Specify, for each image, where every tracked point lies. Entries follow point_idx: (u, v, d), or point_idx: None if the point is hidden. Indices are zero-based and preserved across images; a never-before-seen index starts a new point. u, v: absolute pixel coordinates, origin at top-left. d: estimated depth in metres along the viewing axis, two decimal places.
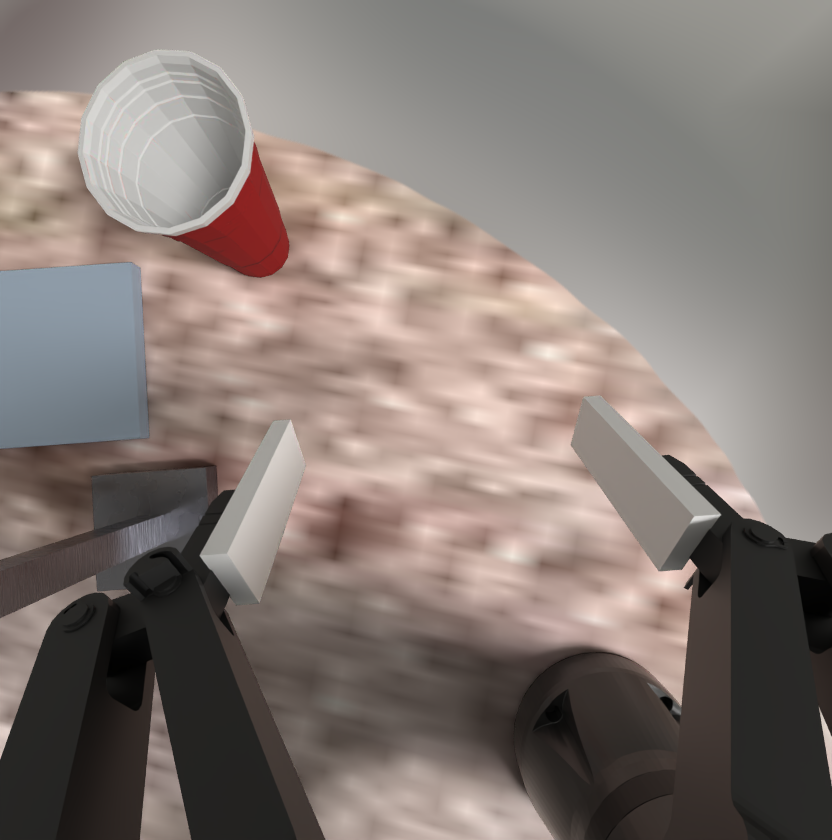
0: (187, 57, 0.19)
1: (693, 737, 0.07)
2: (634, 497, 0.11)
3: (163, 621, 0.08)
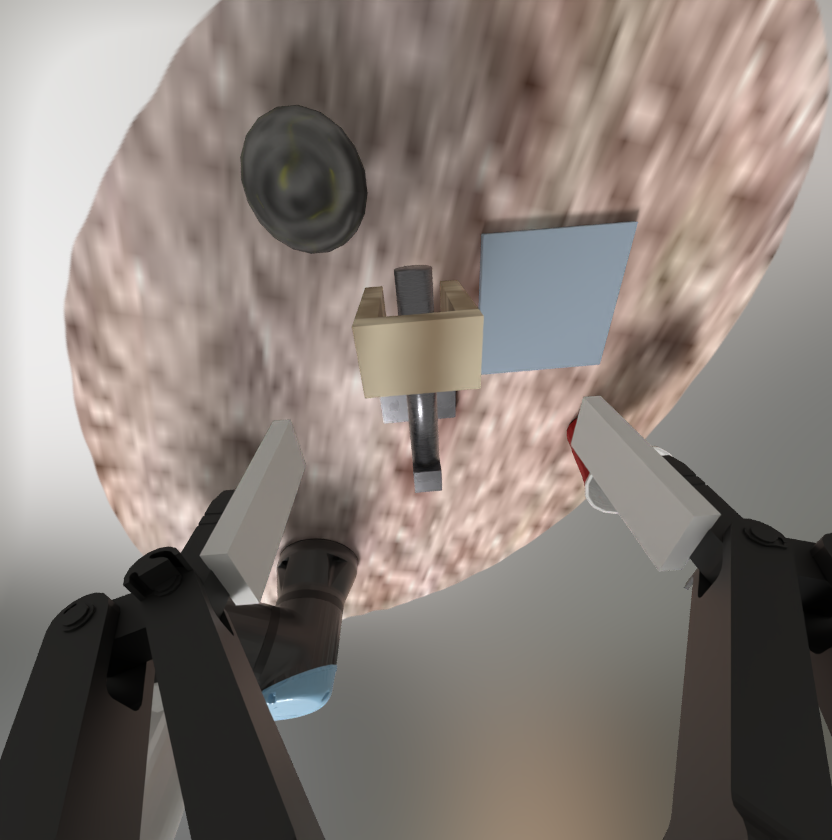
0: None
1: (693, 737, 0.07)
2: (634, 497, 0.11)
3: (163, 621, 0.08)
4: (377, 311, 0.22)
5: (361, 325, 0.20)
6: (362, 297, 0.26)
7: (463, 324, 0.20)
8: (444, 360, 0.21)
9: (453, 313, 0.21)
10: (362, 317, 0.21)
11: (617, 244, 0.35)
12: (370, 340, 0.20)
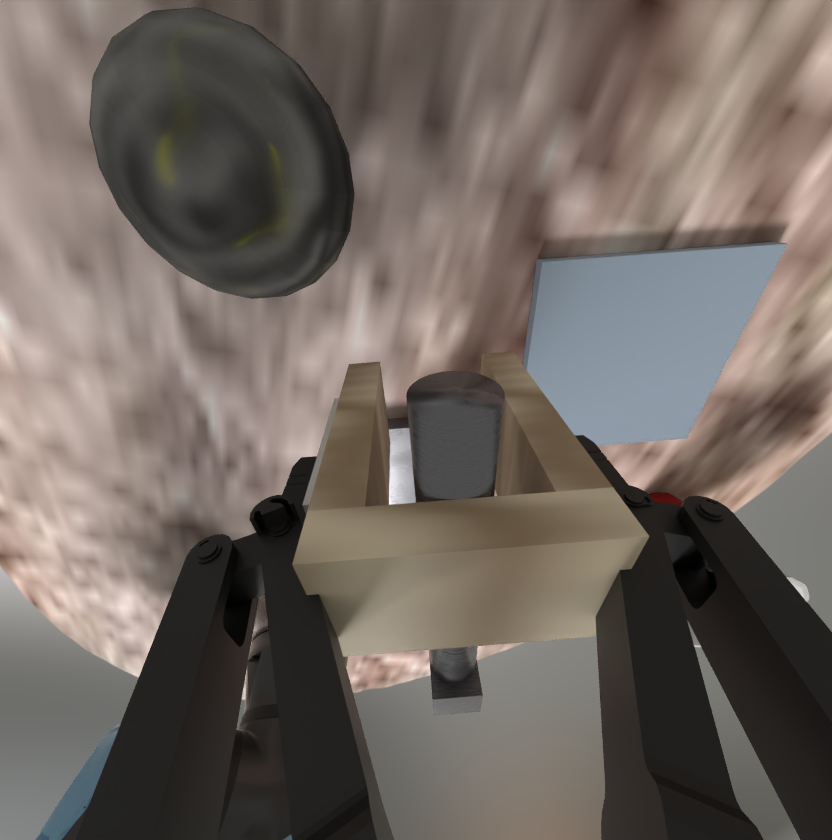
0: None
1: (610, 702, 0.07)
2: None
3: (274, 558, 0.09)
4: (365, 470, 0.10)
5: (320, 555, 0.07)
6: (339, 399, 0.13)
7: (589, 551, 0.08)
8: (524, 605, 0.09)
9: (556, 507, 0.08)
10: (329, 498, 0.09)
11: (747, 278, 0.22)
12: (344, 584, 0.08)
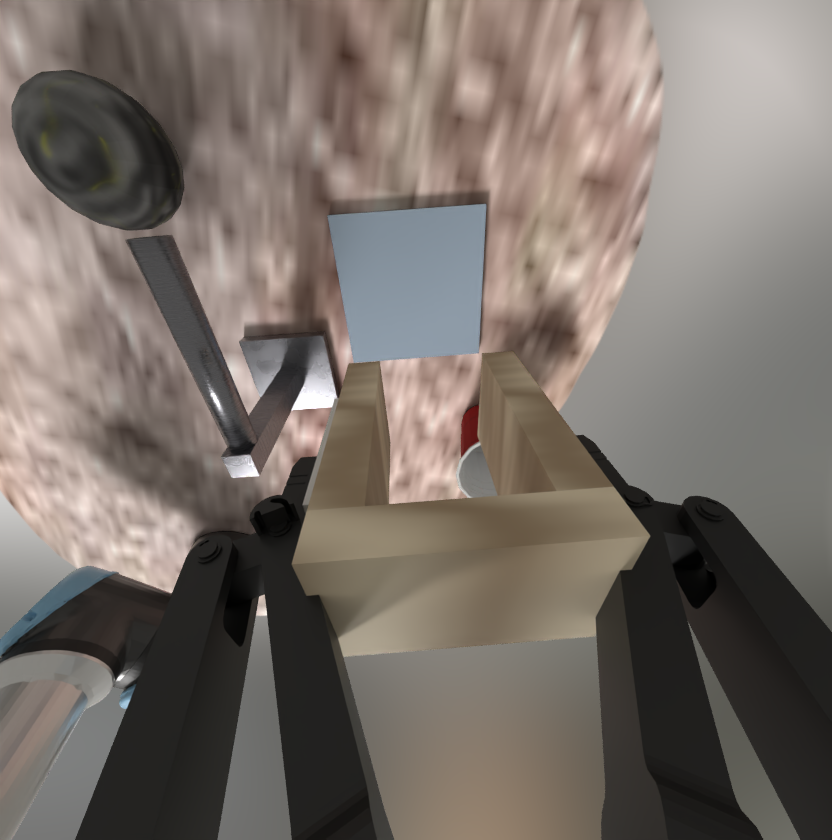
0: None
1: (610, 703, 0.07)
2: None
3: (274, 558, 0.09)
4: (365, 469, 0.10)
5: (319, 554, 0.07)
6: (339, 399, 0.13)
7: (590, 551, 0.08)
8: (525, 605, 0.09)
9: (556, 507, 0.08)
10: (328, 498, 0.09)
11: (470, 227, 0.34)
12: (343, 583, 0.08)
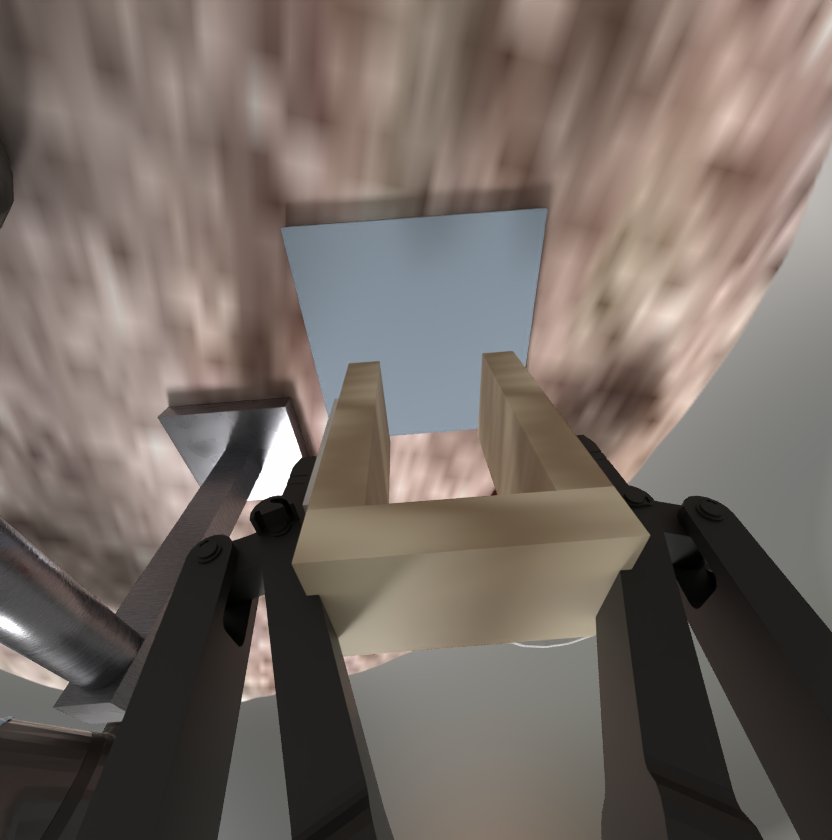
0: None
1: (610, 702, 0.07)
2: None
3: (274, 558, 0.09)
4: (365, 469, 0.10)
5: (319, 554, 0.07)
6: (339, 398, 0.13)
7: (590, 550, 0.08)
8: (525, 605, 0.09)
9: (556, 506, 0.08)
10: (328, 497, 0.09)
11: (517, 247, 0.21)
12: (343, 583, 0.08)
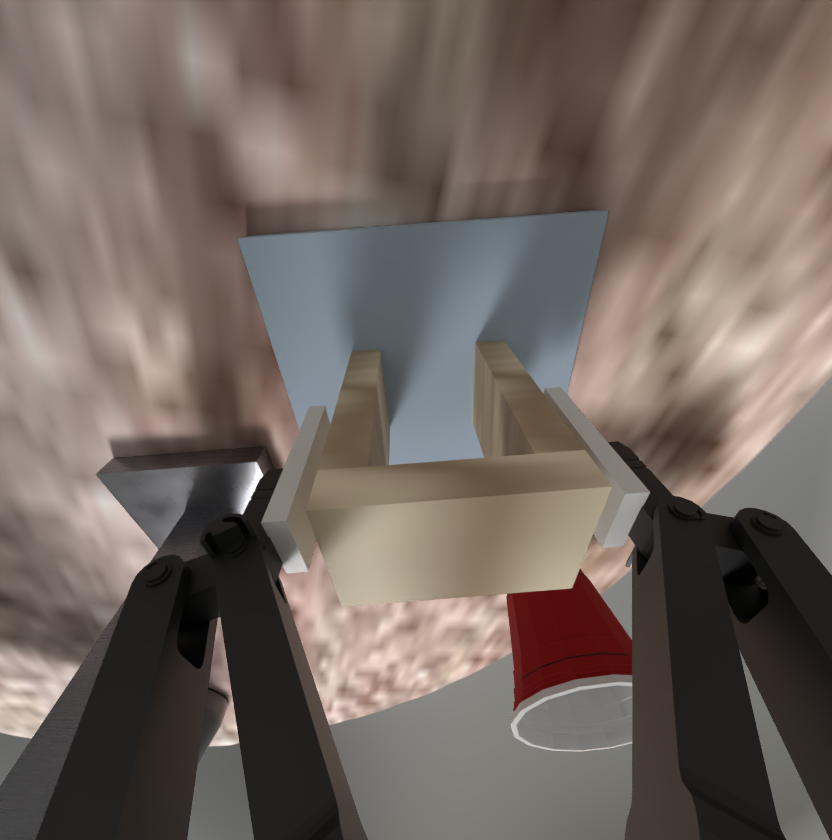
0: None
1: (644, 713, 0.07)
2: None
3: (229, 580, 0.08)
4: (368, 438, 0.11)
5: (329, 503, 0.09)
6: (343, 381, 0.14)
7: (561, 501, 0.09)
8: (508, 554, 0.10)
9: (534, 465, 0.09)
10: (336, 460, 0.10)
11: (563, 264, 0.15)
12: (349, 530, 0.09)
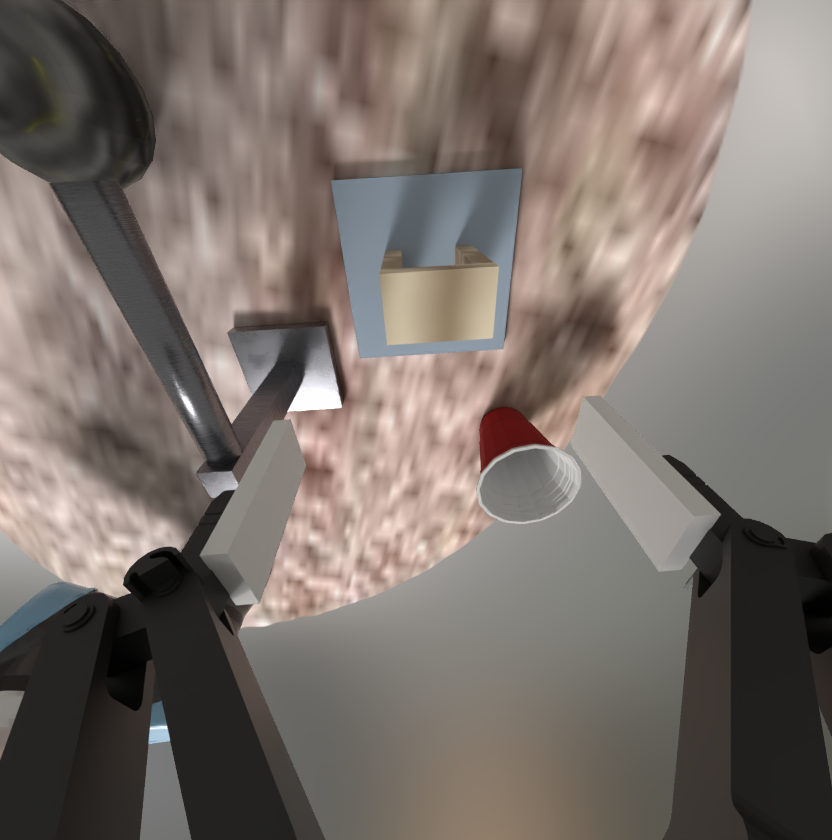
0: (570, 498, 0.35)
1: (693, 737, 0.07)
2: (634, 497, 0.11)
3: (163, 621, 0.08)
4: (400, 264, 0.24)
5: (388, 272, 0.22)
6: (384, 256, 0.28)
7: (480, 274, 0.22)
8: (461, 309, 0.23)
9: (471, 265, 0.23)
10: (387, 268, 0.23)
11: (501, 198, 0.28)
12: (395, 287, 0.22)
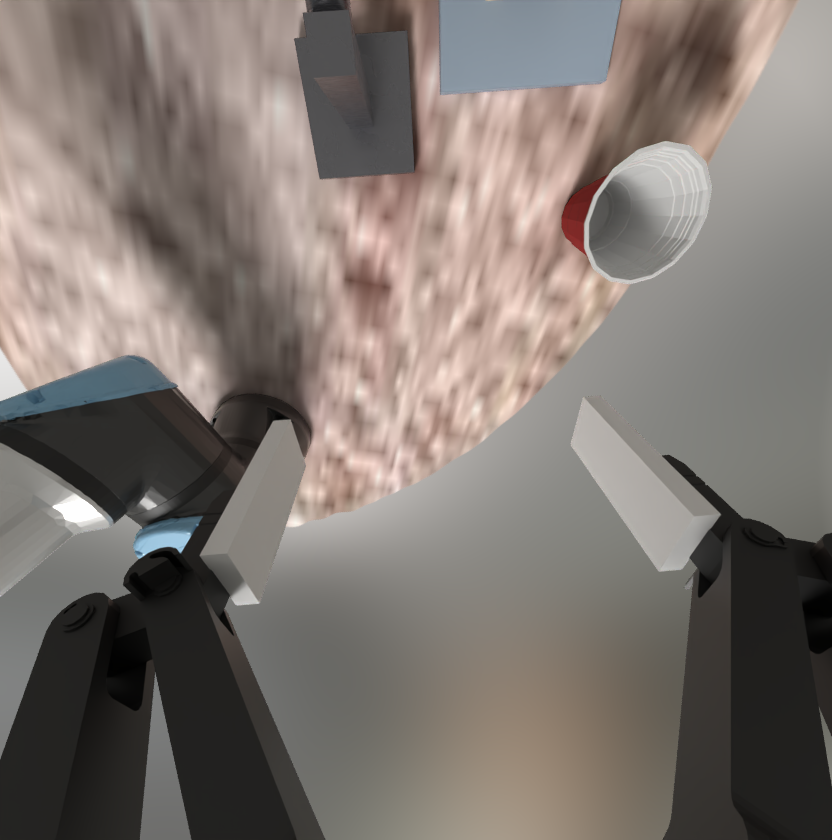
0: (691, 239, 0.30)
1: (693, 737, 0.07)
2: (634, 497, 0.11)
3: (163, 621, 0.08)
4: None
5: None
6: None
7: None
8: None
9: None
10: None
11: None
12: None
